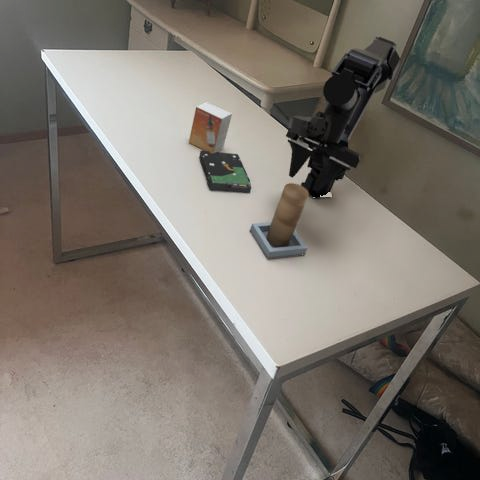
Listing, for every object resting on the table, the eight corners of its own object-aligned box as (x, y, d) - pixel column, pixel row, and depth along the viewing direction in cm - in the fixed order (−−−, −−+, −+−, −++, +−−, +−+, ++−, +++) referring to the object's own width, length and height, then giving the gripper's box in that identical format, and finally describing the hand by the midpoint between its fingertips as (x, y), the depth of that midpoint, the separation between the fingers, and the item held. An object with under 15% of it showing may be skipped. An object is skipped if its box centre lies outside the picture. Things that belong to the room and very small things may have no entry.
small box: (188, 143, 122) (195, 106, 115) (199, 136, 126) (206, 100, 120) (213, 155, 120) (222, 118, 114) (223, 148, 124) (232, 112, 118)
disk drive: (197, 159, 118) (209, 192, 107) (199, 150, 116) (211, 182, 105) (235, 162, 121) (250, 194, 111) (238, 153, 120) (253, 184, 109)
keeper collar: (285, 228, 103) (288, 221, 101) (304, 255, 97) (307, 248, 95) (249, 230, 99) (252, 223, 97) (267, 259, 93) (269, 251, 91)
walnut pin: (278, 231, 100) (296, 181, 92) (293, 245, 98) (313, 195, 90) (261, 236, 97) (279, 185, 89) (276, 251, 95) (296, 200, 87)
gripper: (284, 90, 96) (252, 158, 100) (339, 106, 82) (300, 186, 85) (320, 111, 103) (289, 174, 106) (378, 130, 88) (339, 203, 91)
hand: (302, 183), depth 97 cm, fingers open, 9 cm apart
